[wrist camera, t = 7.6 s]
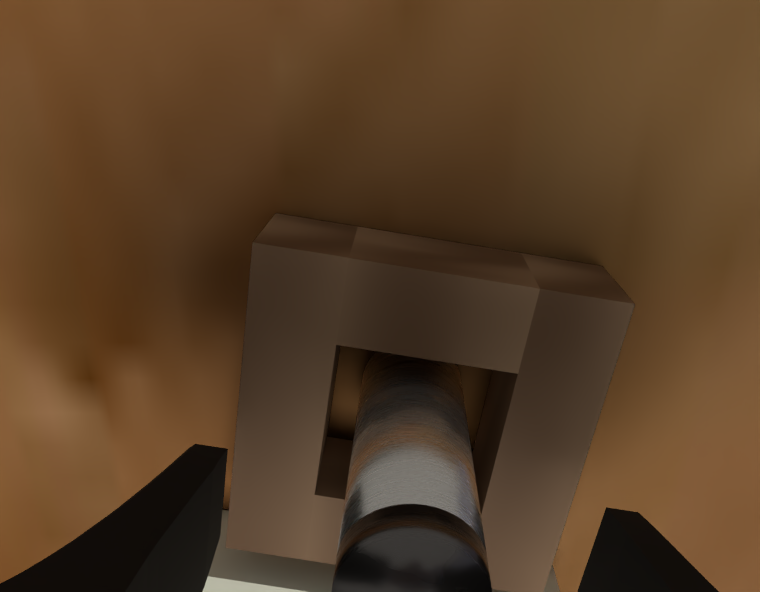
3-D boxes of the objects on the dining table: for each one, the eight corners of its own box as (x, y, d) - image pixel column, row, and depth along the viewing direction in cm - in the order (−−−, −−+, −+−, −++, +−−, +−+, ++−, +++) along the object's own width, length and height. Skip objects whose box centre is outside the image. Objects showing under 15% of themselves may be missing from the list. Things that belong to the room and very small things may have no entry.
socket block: (602, 265, 16) (635, 304, 14) (525, 528, 19) (542, 596, 17) (275, 213, 16) (252, 242, 14) (248, 484, 19) (225, 548, 16)
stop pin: (470, 347, 17) (509, 551, 10) (450, 433, 18) (474, 673, 11) (369, 331, 17) (342, 525, 10) (355, 418, 18) (321, 649, 11)
